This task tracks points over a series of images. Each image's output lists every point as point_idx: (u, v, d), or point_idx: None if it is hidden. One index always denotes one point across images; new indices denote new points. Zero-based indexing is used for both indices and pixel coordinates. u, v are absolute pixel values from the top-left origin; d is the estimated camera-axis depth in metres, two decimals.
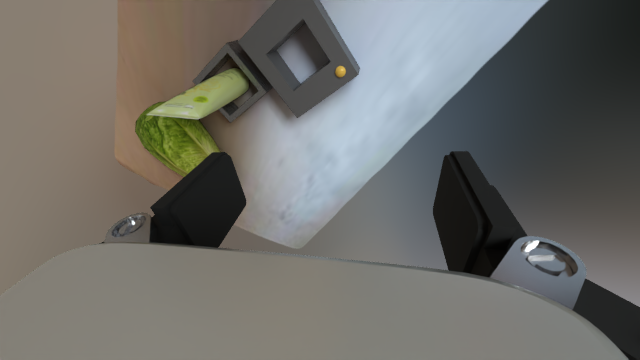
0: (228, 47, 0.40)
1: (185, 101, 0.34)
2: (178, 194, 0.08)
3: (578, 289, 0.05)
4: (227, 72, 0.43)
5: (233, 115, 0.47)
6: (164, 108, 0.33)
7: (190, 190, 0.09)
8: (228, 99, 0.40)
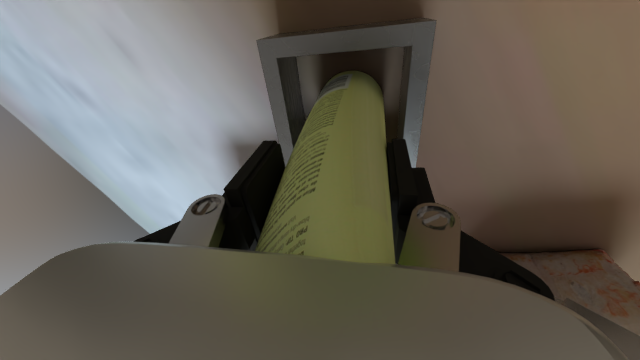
0: None
1: None
2: (246, 177, 0.09)
3: (458, 235, 0.06)
4: None
5: (273, 72, 0.15)
6: None
7: (255, 174, 0.09)
8: None
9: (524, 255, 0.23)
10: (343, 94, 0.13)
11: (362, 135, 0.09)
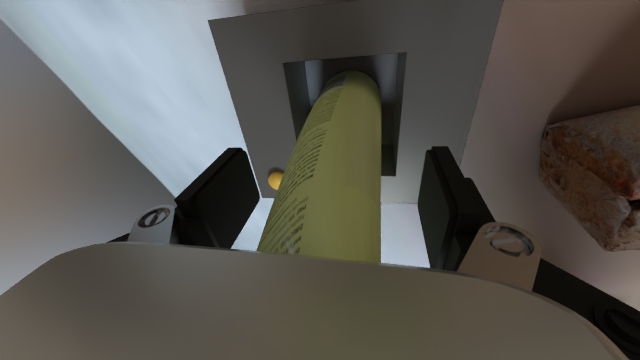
0: None
1: None
2: (200, 187, 0.08)
3: (536, 266, 0.05)
4: None
5: None
6: None
7: (211, 183, 0.09)
8: None
9: None
10: (340, 93, 0.13)
11: (356, 129, 0.09)
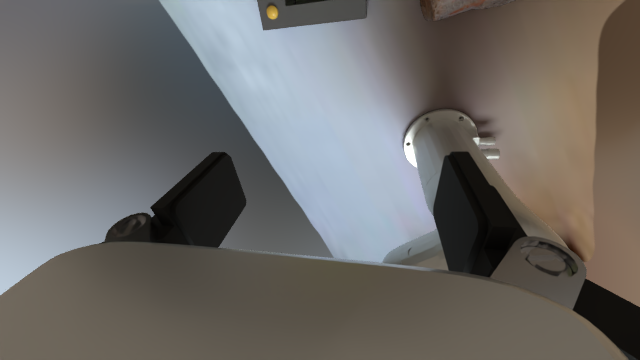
0: None
1: None
2: (178, 194, 0.08)
3: (578, 289, 0.05)
4: None
5: None
6: None
7: (190, 190, 0.09)
8: None
9: None
10: None
11: None
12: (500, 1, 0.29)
